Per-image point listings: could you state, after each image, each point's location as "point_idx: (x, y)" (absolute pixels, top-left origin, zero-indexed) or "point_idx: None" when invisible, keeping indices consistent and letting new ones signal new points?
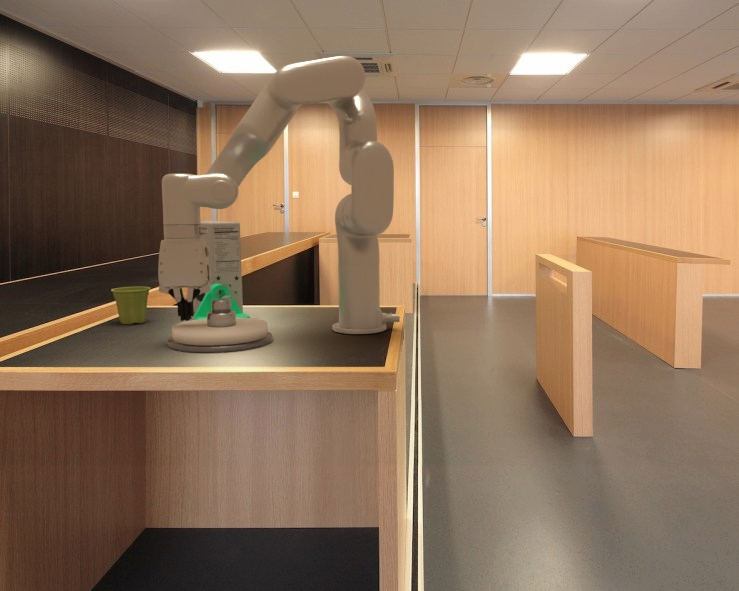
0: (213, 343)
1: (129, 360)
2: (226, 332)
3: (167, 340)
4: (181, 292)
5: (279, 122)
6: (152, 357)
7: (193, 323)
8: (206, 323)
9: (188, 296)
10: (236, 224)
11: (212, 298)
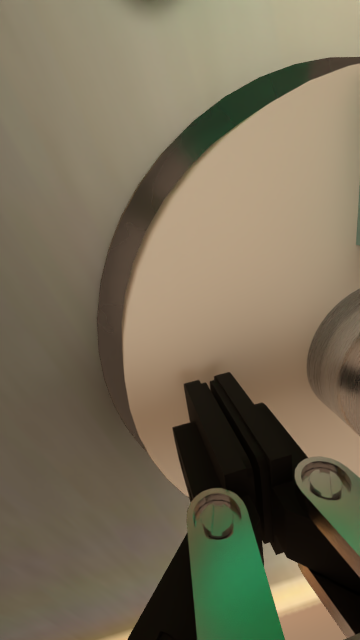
0: None
1: (113, 590)
2: None
3: (124, 422)
4: (257, 597)
5: None
6: (161, 550)
7: (219, 333)
8: (290, 321)
9: (334, 593)
10: None
11: None
